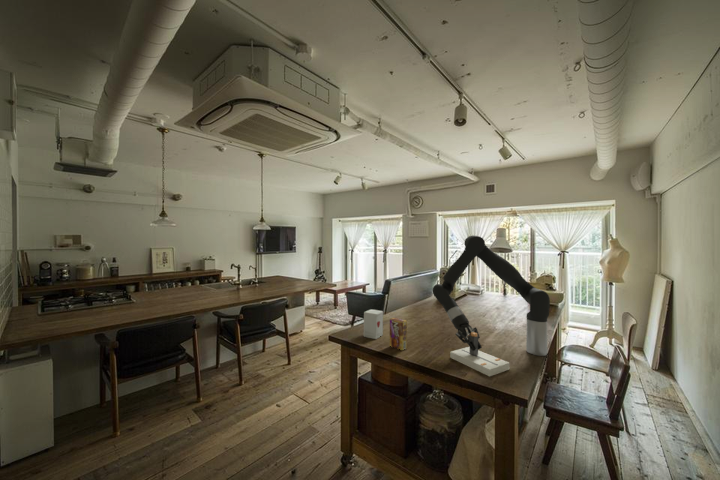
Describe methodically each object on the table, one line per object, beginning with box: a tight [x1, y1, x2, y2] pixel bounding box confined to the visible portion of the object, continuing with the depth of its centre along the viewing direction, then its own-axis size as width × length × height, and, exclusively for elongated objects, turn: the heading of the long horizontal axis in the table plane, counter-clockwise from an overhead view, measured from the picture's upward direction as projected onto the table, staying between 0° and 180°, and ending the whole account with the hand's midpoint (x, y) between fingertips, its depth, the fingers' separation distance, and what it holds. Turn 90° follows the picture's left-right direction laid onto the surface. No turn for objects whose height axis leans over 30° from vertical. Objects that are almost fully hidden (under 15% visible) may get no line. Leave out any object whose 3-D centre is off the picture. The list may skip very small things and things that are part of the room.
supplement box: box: [363, 308, 384, 340], centre depth 171 cm, size 9×9×15 cm
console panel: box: [449, 346, 511, 377], centre depth 134 cm, size 14×22×3 cm, turn 29°
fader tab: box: [470, 332, 479, 356], centre depth 136 cm, size 3×3×10 cm
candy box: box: [388, 317, 408, 351], centre depth 153 cm, size 9×4×15 cm, turn 47°
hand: (477, 349), depth 135 cm, fingers closed on fader tab, 3 cm apart
